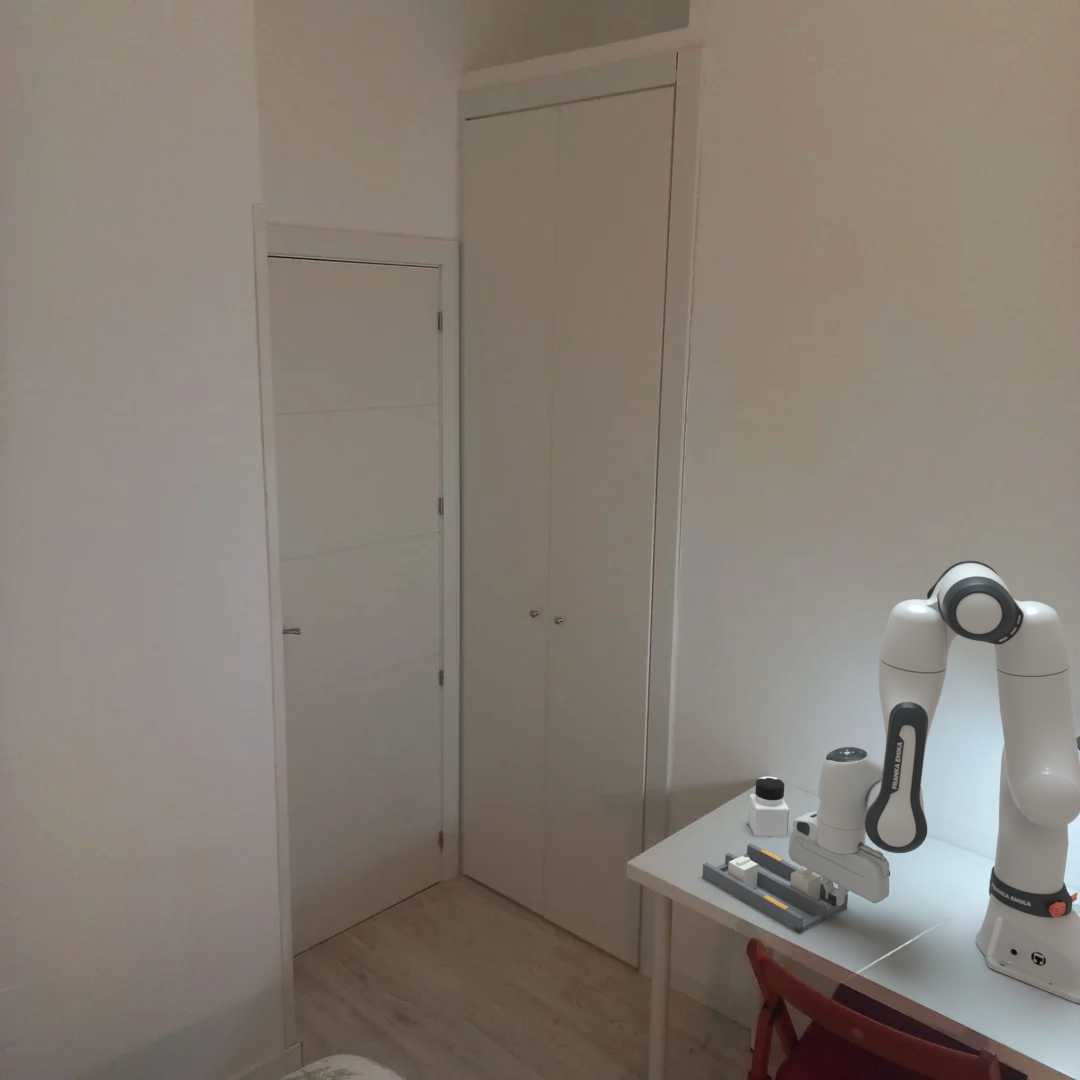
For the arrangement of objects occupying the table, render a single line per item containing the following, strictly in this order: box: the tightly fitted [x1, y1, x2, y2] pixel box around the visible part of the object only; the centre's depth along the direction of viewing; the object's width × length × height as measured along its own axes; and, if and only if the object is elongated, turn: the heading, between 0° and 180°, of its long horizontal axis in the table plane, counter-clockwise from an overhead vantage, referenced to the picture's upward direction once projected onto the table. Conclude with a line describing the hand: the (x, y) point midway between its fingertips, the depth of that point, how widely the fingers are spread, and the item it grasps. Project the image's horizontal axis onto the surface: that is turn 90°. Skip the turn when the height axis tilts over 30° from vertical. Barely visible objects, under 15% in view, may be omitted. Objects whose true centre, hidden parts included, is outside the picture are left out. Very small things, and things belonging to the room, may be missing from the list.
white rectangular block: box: [789, 866, 822, 901], centre depth 197 cm, size 4×4×6 cm
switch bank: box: [702, 843, 849, 934], centre depth 199 cm, size 24×14×4 cm, turn 37°
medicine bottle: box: [747, 776, 790, 838], centre depth 224 cm, size 7×7×12 cm
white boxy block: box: [727, 855, 759, 890], centre depth 201 cm, size 4×4×6 cm
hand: (834, 901), depth 192 cm, fingers closed
